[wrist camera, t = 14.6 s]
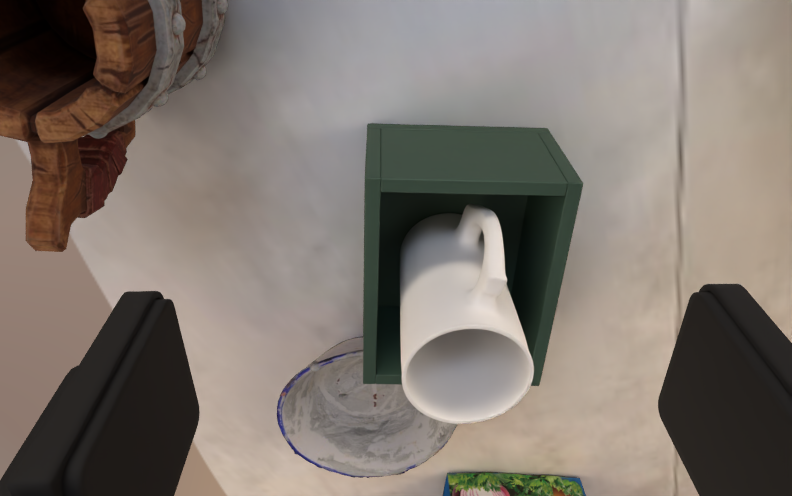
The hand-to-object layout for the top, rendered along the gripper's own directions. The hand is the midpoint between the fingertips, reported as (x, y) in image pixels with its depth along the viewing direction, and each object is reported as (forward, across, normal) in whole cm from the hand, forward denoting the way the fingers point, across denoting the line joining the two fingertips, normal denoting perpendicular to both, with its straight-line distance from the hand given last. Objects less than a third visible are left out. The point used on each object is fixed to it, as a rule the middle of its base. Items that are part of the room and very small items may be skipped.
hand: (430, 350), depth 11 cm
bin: (+27, -3, +13) cm, 30 cm away
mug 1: (+27, +15, -1) cm, 31 cm away
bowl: (+27, +3, +26) cm, 38 cm away
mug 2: (+26, -3, +13) cm, 30 cm away
